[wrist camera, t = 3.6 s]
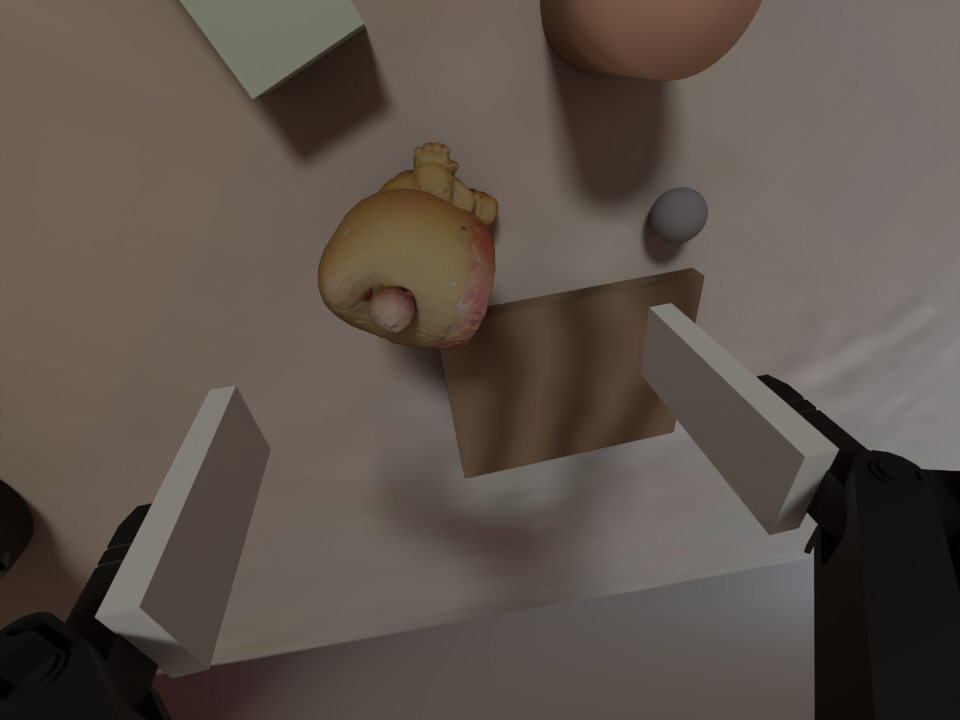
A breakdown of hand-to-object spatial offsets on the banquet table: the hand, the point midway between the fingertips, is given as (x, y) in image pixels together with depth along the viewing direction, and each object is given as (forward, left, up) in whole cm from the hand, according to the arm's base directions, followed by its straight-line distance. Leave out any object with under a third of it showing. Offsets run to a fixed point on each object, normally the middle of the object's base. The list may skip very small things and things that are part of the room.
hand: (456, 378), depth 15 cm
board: (+10, -15, -17) cm, 25 cm away
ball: (+17, -2, -17) cm, 24 cm away
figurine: (0, 0, -17) cm, 17 cm away
